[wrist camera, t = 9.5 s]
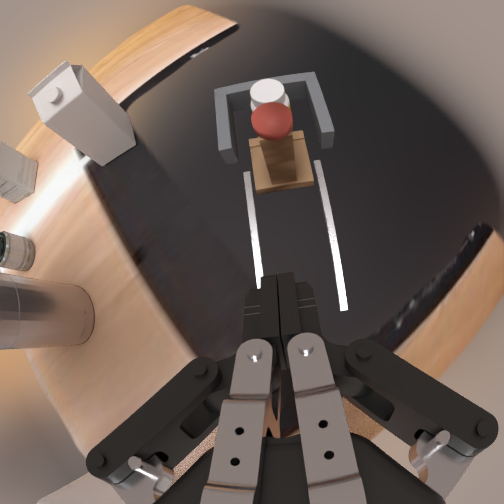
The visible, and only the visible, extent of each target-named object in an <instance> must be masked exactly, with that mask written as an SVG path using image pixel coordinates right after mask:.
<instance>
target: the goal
mask: <svg viewBox="0 0 504 504" xmlns="http://www.w3.org/2000/svg"><path fill="white" fill-rule="evenodd" d="M266 79H274V80H277V81H279V82H280V83H281V84H282V85H283V86H284V90H285V93H286V94H287V96H288V98H289V101H291V100H297V99H305V98H306V99H307V101H308V105H309V108H310V112H311V115H312V119H313V122H314V126H315V129H316V132H317V137H318V140H319V144H320V147H321V149H327V148H332V147H333V140H334V132H335V131H334V128H333V125H332V121H331V118H330V115H329V112H328V109H327V106H326V103H325V100H324V97H323V94H322V92H321V89H320V86H319V83H318V81H317V78H316V75H315V73H314V72H308V73H300V74H293V75H285V76H278V77H273V78H266ZM261 80H263V79H261ZM258 81H260V80H255V81H250V82H245V83H240V84H236V85H231V86H227V87H223V88H219V89H215V90H214V92H215V105H216V106H215V107H216V120H217V134H218V147H219V152H220V153H221V155H222V157H223V159H224V160H225V162H226V164H227V165H230V164H235V163H238V162H239V161H238V153H237V144H236V135H235V126H234V118H233V111H235V110H240V109H245V108H250V107H251V95H250V90H251V87H252V86H253V85H254V84H255V83H256V82H258Z"/></svg>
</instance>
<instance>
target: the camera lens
mask: <svg viewBox="0 0 504 504" xmlns="http://www.w3.org/2000/svg"><path fill="white" fill-rule="evenodd" d="M34 257H35V248H34V245H33V243H32V242H31V241H29V240H28V239H26V238H24V237H21V236H18V235H15V234H11V233H8V232H5V231H2V232H0V267H3V268H8V269H13V270H18V271H20V270H21V271H23V270H28V269H29V268H30V267H31V266H32V264H33V261H34Z"/></svg>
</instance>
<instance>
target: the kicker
mask: <svg viewBox="0 0 504 504" xmlns="http://www.w3.org/2000/svg"><path fill="white" fill-rule="evenodd" d="M251 121H252V125H253V128H254V131H255V133H256V134H257V135H258V137H259V138H254V139H249V145H250V151H251V158H252V165H253V172H254V180H255V187H256V191H257V194H264V193H270V192H276V191H282V190H288V189H295V188H301V187H308V186H313V185H314V179H313V174H312V169H311V165H310V161H309V156H308V152H307V148H306V144H305V140H304V135H303V131H302V130H301V131H295V132H292V131H291V130H292V128H293V120H292V113H291V111H290V109H289V108H288V107H287V106H286V105H284V104H282V103H278V102H268V103H264V104H262V105H260V106H258V107H257V108H256V109H255V110H254V112H253V114H252V116H251Z"/></svg>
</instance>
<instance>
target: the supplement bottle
mask: <svg viewBox="0 0 504 504" xmlns="http://www.w3.org/2000/svg"><path fill="white" fill-rule="evenodd" d="M250 95H251V109H252V112H254V110H255V109H256V108H257V107H258V106H260V105H262V104H264V103H268V102H278V103H282V104H284V105H286V106H287V107H288V108H289V109H290V102H289V98H288V96H287V94H286V93H285V90H284V86H283V85H282V84H281V83H280V82H279V81H277V80H274V79H263V80H260V81H258V82H256V83H255V84H254V85H253V86H252V87H251V90H250ZM290 111H291V110H290ZM292 129H293V128H292ZM291 131H292V130H291Z"/></svg>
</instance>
